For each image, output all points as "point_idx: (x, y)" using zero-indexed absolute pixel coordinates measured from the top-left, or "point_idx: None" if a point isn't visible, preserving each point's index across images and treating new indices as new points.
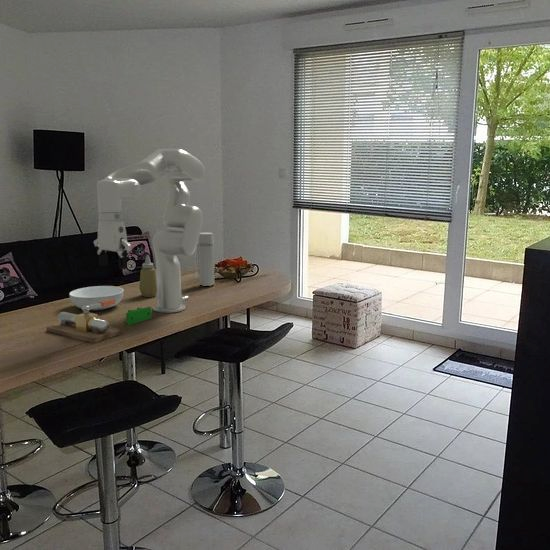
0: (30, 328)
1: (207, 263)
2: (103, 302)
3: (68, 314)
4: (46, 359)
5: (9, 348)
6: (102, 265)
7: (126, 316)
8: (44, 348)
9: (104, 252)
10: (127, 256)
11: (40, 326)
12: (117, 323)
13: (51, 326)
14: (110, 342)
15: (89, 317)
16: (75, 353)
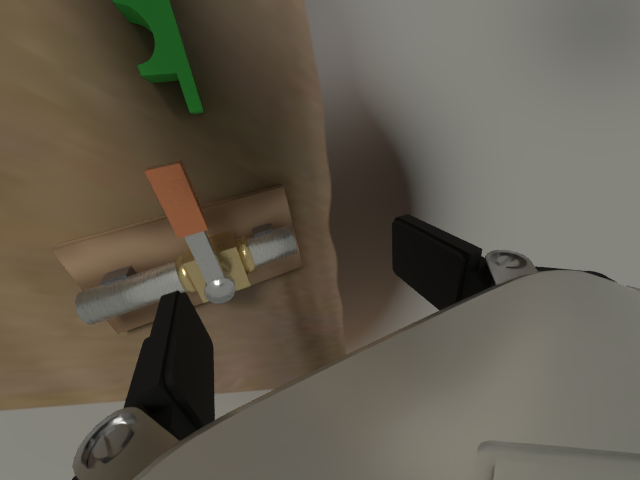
0: (54, 356)
1: None
2: (207, 227)
3: (137, 305)
4: (323, 341)
5: (222, 387)
6: (206, 335)
7: (191, 113)
8: (265, 339)
9: (175, 435)
10: (498, 252)
11: (42, 334)
12: (157, 131)
13: (119, 322)
14: (320, 232)
15: (245, 272)
16: (330, 302)
